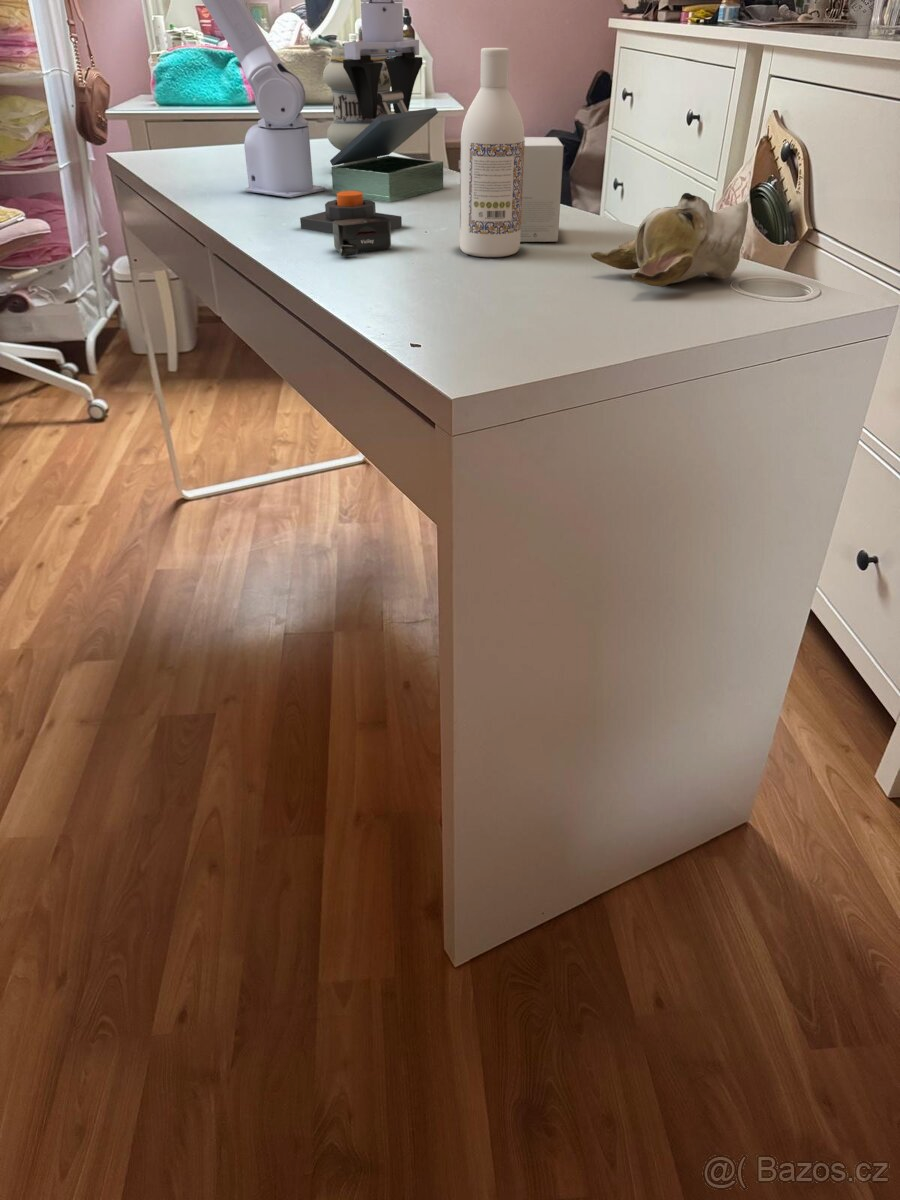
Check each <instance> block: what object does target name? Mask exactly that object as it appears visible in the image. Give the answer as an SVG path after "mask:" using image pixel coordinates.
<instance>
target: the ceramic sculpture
mask: <svg viewBox="0 0 900 1200" xmlns="http://www.w3.org/2000/svg"><path fill="white" fill-rule="evenodd" d="M748 214H749V202H748V201H745V200H744V201H741V202H739V203H737V204H733V205H728V206H726V207H723V208H720V209H718V210H715V211H713V210H711V207H710V205H709V203H708V201H706V200H704V199H703V198H702V197H701V196H697V195H694V194H691V193H689V192H685V193H683V194H682V195H681V197H680V199H679V201H678V203H677V205H675V206H666V207H658V208H655V209H654V210H652V211H651V212H650V213H648V214H647V215H646V216H645V218H644V219H643V220H642V222H641V223H640V224H639V226H638V227H637V231H636V234H635V238H633V239H632V240H629V241H628V240H627V241H625V242H623V243H622V244H620V245H619V246H618V248H614V249H611V250H610V251H609V252H607V253H605V252H601V251H595V252H592V253H590V257H591V258H592V259H594V260H596V261H597V262H599V263H602V264H605V265H607V266H610V267H612V268H615V269H618V270H626V271H632V270H637V271H636V272H634V273H633V274H632V275H631V278H632V279H633V280H635V281H637V282H639V283H640V282H641V283H643V284H645V285H648V286H652V287H665V286H668V285H669V284H676V283H680V282H684V281H687V280H689V279H692V278H693V277H696V276H700V275H704V274H706V275H708V276H709V277H711V278H713V279H722V280H725V279H727V278H729V277H730V276H732V275H733V273H734V272H735V271H736V269H737V267H738V265H739V263H740V260H741V259H740V257H741V249H742V246H743V244H744V240H745V235H746V230H747V223H748V218H749V217H748V216H749V215H748Z"/></svg>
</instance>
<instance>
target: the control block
mask: <svg viewBox="0 0 900 1200" xmlns="http://www.w3.org/2000/svg"><path fill="white" fill-rule="evenodd" d="M324 209H325V211H322V212H321V211H320V212H318V213H313V214H310V215H305V216H301V217H299V220H300V221H299V222H300V229H301V230H305V231H313V232H319V233H323V234H324V233H326V234H332V235H334V233H333V221H339V220H349V219H359V218H370V217H385V218H387V219H389V220H390V228H391V231H394V230H398V229H400V228H401V229H402V228H403V224H402V223H403V222H402V219H403V218H402V217H403V216H402V215H395V214H389V213H382V212H376V202H375V201H373V200H372V199H365V198H363V205H360V206H339V205H337V199H333V200H328V201H327V202H325V204H324Z"/></svg>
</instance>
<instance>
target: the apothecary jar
mask: <svg viewBox="0 0 900 1200" xmlns="http://www.w3.org/2000/svg"><path fill="white" fill-rule="evenodd" d="M386 52H387V49H380V52H372V53H386ZM385 59H388V57H378V58H371V60H373V62H379V63H382V64H383V66H382V69H381V73H380V77H379V83H378V92H377V93H379V92H387V91H391V82H390V77H389V73H388V70H387V66H386V64H385V61H384V60H385ZM343 60H346V59H345V50H344V46H335V47H332V48H331V57H330V62H329V63H327V64H326V66H325V68H324V70H323V73H322V74H323V75H322V78H323V81H324V83H325V84H326V85H327V87H328V88H330V91H331V97H332V98H331V100H332V110H333V111H332V113H333V121H332V122H331V124H330V125H328V127H327V131H326V136H327V137H326V138H327V139H328V141H329V143H330V144H331V145H332V146H333V147H334V148H335V149H337V150H339V151H341V150H342V149H343V148H344V147H345V146H347V145H348V144H349V143H350V142H351V141H352V140H353V139H354V138H355V137H356V136H358V135H359V134H360V133H361V132H362V131H363V130H364V129H365V128H366V127H367V126H369V125H370V124H371V123H372V122H373V121H374V120H375V119H376V118H377V117H378V116H382V115H384V113H383V111H382V109H381V107H380V105H377V115H376V118H375V119H370V118H362V115H361V111H360V107H359V104H358V100H357V97H356V93H355V90H354V88H353V85H352V83H351V80H350V78H349V76H348V74H347V73H346V71H345V69H344V68H343ZM387 106H388V108H389V110H390V112H391V114H393V113H392V104H387ZM375 158H378V157H375ZM370 159H374V158H370ZM365 160H369V159H365ZM360 161H364V160H360ZM355 162H359V161H355ZM350 163H354V162H350ZM344 164H349V163H344Z"/></svg>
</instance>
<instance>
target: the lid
mask: <svg viewBox="0 0 900 1200" xmlns="http://www.w3.org/2000/svg"><path fill="white" fill-rule="evenodd" d="M403 98H404V96H403V93H402V92H401V91H400V90H396V91H392V90H390V91H387V92H379V93H377V105H380V107H381V109H382V111H383V113H384V115H382V116H378V117H377V118H376V119H375V120H374V121H373V122H372V123H371V124H370V125H369V126H367V127H366V128H365V129H364V130H363V131H362V132H361V133H360V134H359V135H358V136H356V137H355V138H354V139H353V140H352V141H351V142H350V143H349V144H348V145H347V146H345V147H344V148H343V149H342V150H339V152H338V153H337V154H336V155H334V156H333V157H332V158H331V159H330V160H329V161H330V164H331V167H333V166H338V165H343V164H344V163H350V162H355V161H360V160H365V159H370V158H375V157H377V158H379V157H384V156H390V155H391V154H392V153H393V152H394V151H396V150H397V149H398V148H399V147H400V146H402V144H403V143H405V142H406V141H407V140H408V139H409V138H410V137H412V136H413V135H414V134H415V133H417V132H418V131H419V130H420V129H421V128H422V127H424V125H426V124H427V123H428V122H429V121H431V120H432V119H433V118H434V117H435V116H437V114H439V111H438V109H437V108H436V107H431V108H423V109H417V110H410V111H407V108H406V106H405V104H404V102H403ZM394 103H397V105H398V107H399V109H400V111H401V113H392V111H391V112H390V110H389V108H388V106H387V104H391V105H393V104H394ZM391 113H392V114H391Z"/></svg>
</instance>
